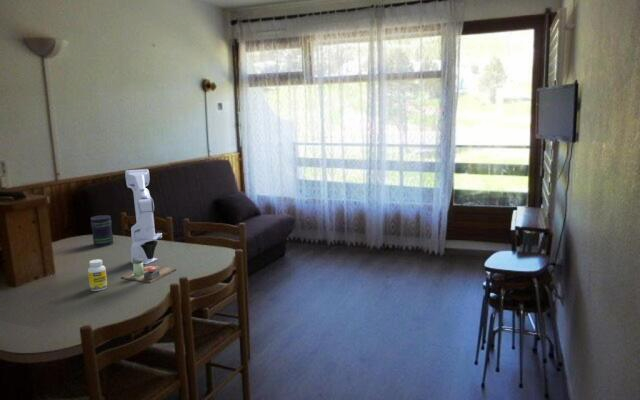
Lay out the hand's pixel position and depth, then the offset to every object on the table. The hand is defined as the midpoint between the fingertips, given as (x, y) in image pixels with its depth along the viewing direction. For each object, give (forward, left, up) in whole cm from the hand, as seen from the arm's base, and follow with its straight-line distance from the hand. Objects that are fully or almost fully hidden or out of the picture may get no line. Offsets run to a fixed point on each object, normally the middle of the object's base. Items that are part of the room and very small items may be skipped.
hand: (150, 258), depth 197 cm
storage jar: (-61, +32, -9) cm, 69 cm away
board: (-5, +4, -9) cm, 11 cm away
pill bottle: (-13, -16, -9) cm, 23 cm away
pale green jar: (-7, 0, -8) cm, 11 cm away
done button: (0, 0, -7) cm, 7 cm away
